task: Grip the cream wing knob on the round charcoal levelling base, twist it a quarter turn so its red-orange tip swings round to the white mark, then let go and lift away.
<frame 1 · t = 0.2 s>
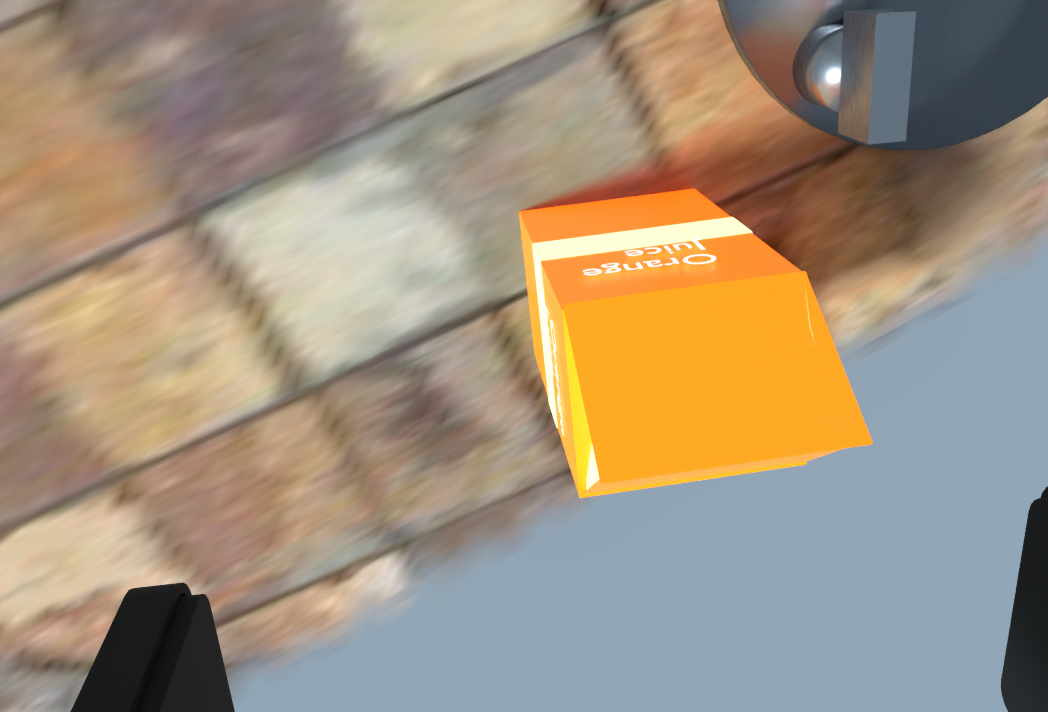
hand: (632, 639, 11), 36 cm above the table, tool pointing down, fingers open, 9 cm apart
orange juice: (611, 271, 48), on the table
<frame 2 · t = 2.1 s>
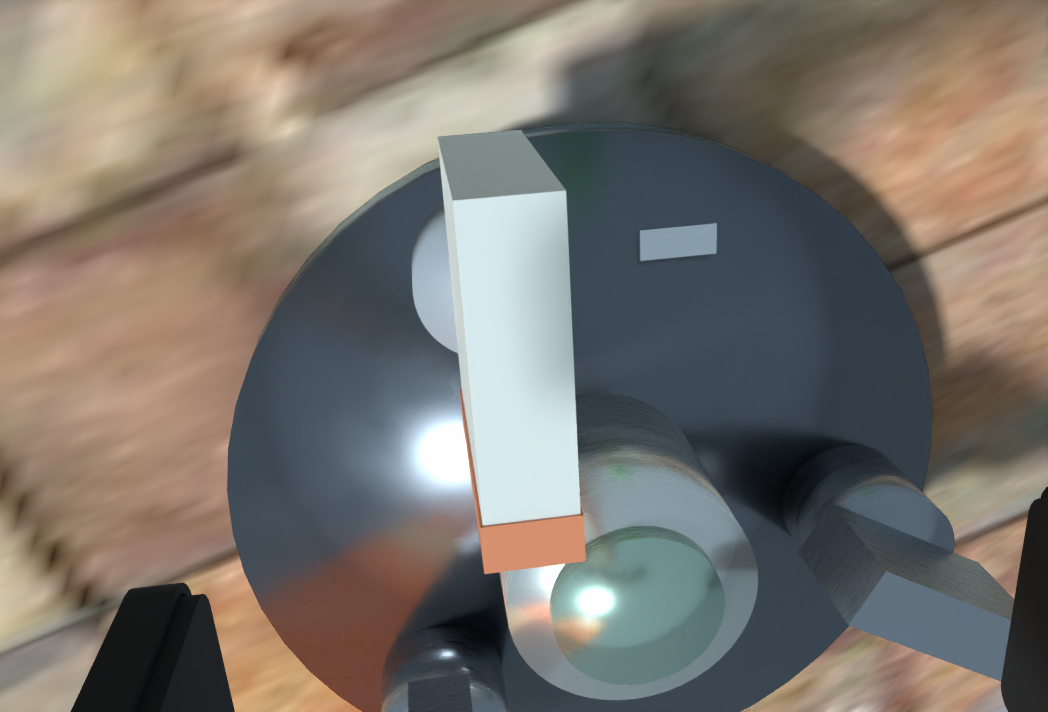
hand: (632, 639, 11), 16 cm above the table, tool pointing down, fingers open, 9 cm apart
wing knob: (500, 317, 20), point 6 cm above the table, hinge at 0.0°
tribrach base: (583, 464, 28), on the table
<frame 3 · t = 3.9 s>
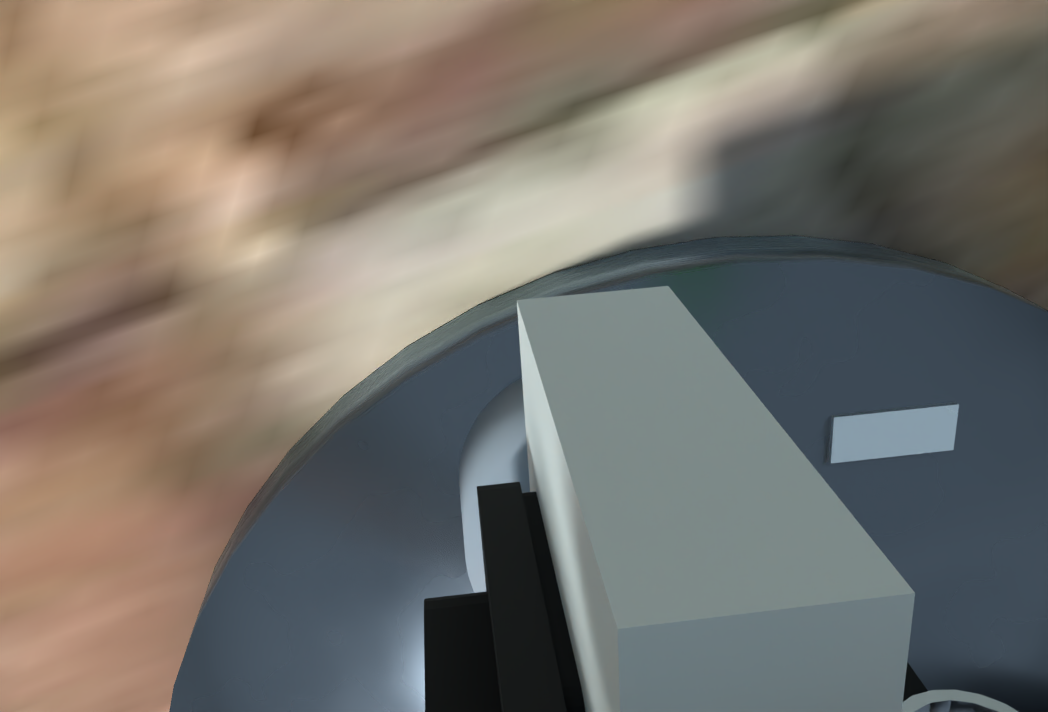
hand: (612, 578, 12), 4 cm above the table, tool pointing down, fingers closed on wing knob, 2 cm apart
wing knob: (635, 646, 11), point 6 cm above the table, hinge at 0.0°, touching gripper
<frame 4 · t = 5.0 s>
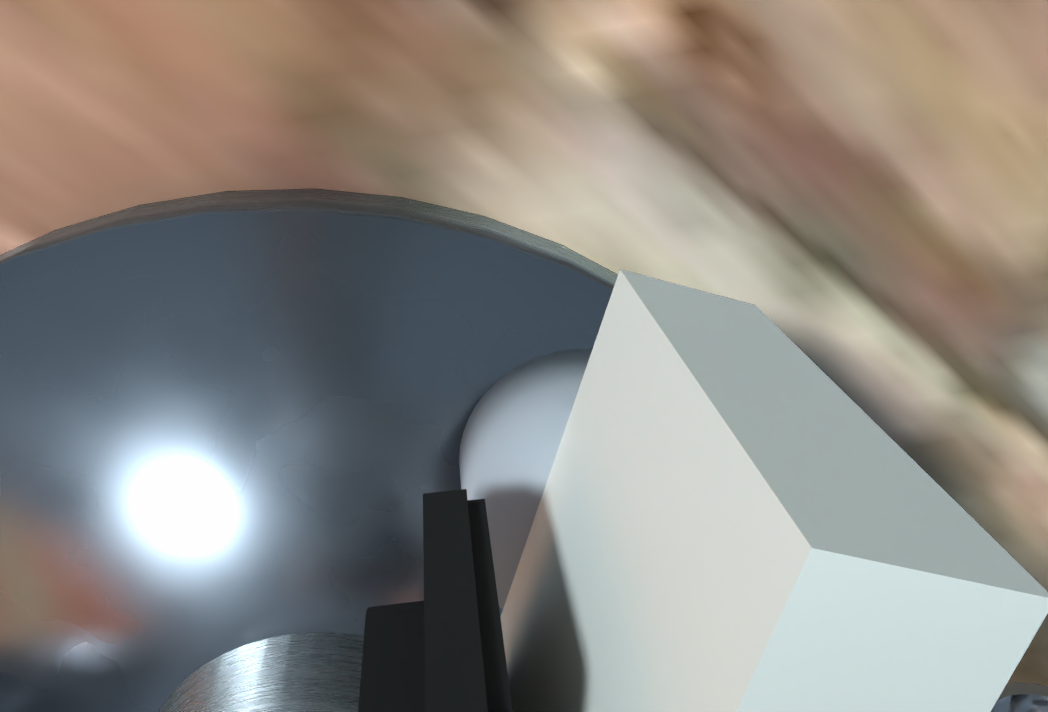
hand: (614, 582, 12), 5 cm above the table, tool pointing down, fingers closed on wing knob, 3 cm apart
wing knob: (630, 622, 11), point 6 cm above the table, hinge at 39.2°, touching gripper
tribrach base: (327, 710, 18), on the table
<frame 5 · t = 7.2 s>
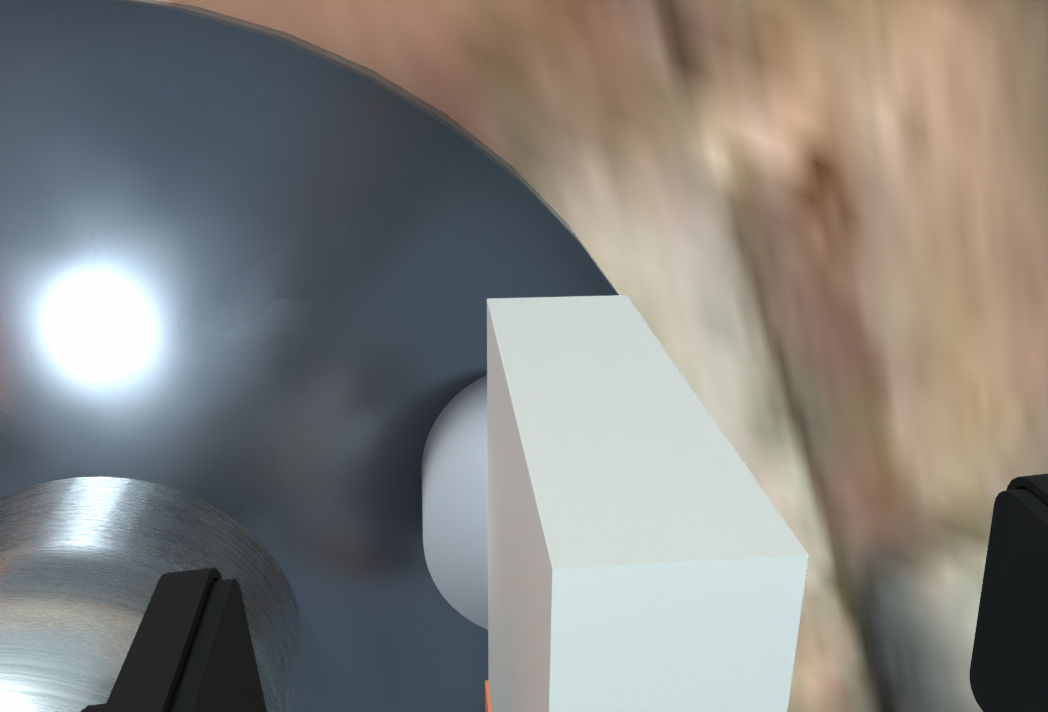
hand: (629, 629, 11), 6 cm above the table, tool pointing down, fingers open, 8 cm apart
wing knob: (574, 624, 11), point 6 cm above the table, hinge at 87.1°
tribrach base: (140, 584, 17), on the table
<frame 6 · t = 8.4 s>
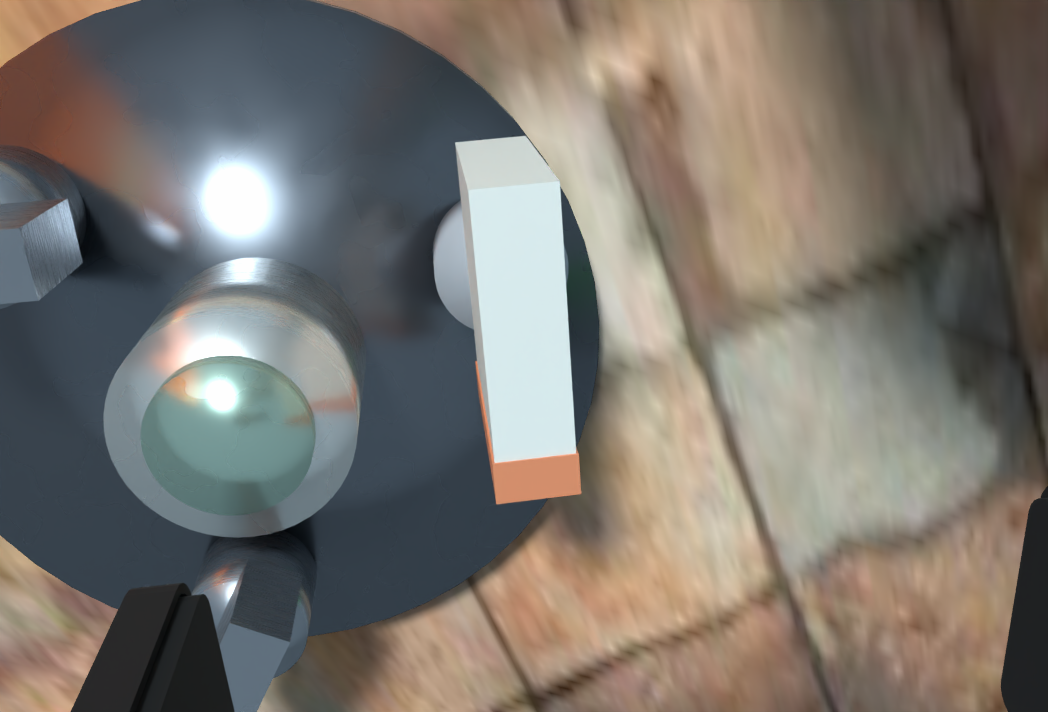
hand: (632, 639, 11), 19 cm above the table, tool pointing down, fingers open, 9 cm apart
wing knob: (509, 294, 23), point 6 cm above the table, hinge at 90.6°
tribrach base: (269, 339, 29), on the table
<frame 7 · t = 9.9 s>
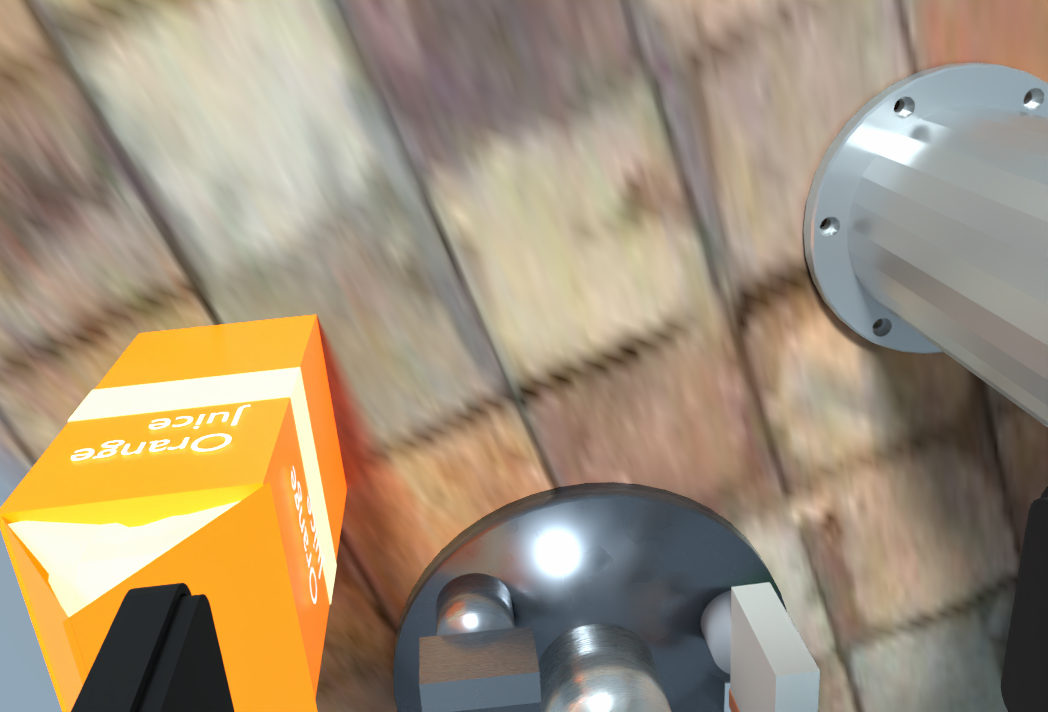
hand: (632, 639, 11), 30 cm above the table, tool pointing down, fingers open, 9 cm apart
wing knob: (763, 675, 43), point 6 cm above the table, hinge at 91.6°
orange juice: (249, 413, 42), on the table
tribrach base: (590, 653, 49), on the table
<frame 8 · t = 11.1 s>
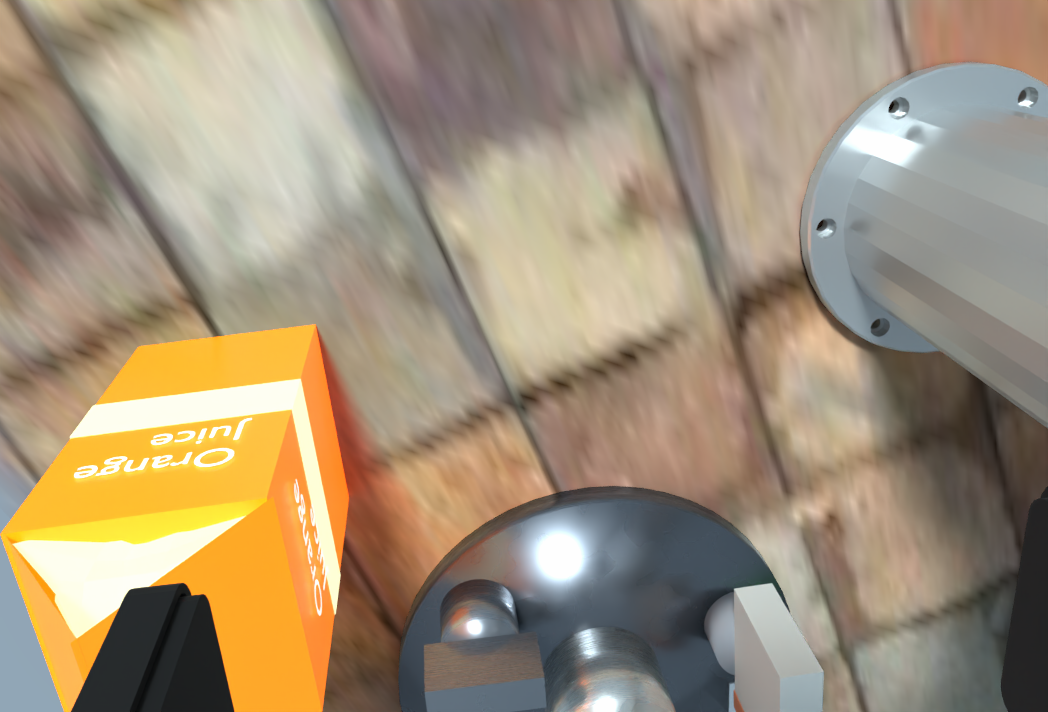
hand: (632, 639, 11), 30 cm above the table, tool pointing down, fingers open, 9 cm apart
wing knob: (767, 676, 43), point 6 cm above the table, hinge at 91.7°
orange juice: (250, 423, 42), on the table
tribrach base: (594, 656, 49), on the table
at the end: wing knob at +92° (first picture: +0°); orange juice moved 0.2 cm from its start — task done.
